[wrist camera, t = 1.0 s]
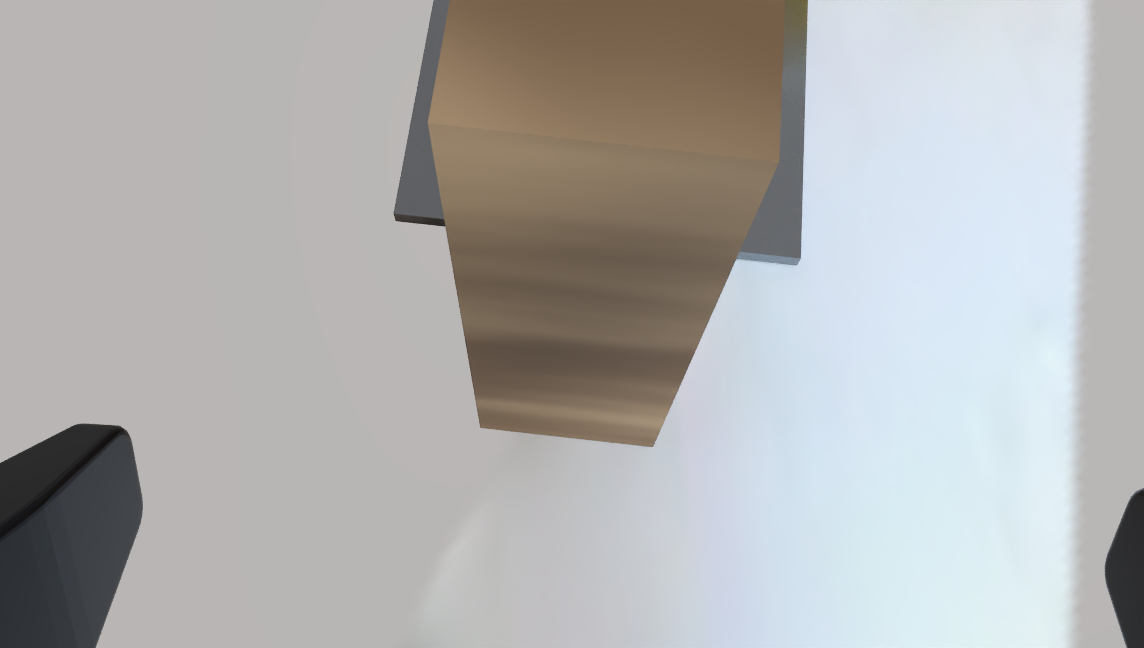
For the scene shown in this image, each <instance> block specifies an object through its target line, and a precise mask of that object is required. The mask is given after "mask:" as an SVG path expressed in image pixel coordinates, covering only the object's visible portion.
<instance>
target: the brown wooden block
mask: <svg viewBox="0 0 1144 648" xmlns="http://www.w3.org/2000/svg"><path fill="white" fill-rule="evenodd" d="M784 17H785V0H450V2H449V8H448V13H447V19H446V25H445V30H444V36H443V41H442V47H441V52H440V58H439V63H438V69H437V74H436V80H435V85H434V91H433V96H432V102H431V107H430V113H429V119H428V128H429V133H430V139H431V145H432V151H433V157H434V162H435V168H436V174H437V180H438V185H439V191H440V197H441V203H442V209H443V214H444V220H445V226H446V231H447V238H448V243H449V249H450V255H451V261H452V266H453V272H454V278H455V284H456V289H457V295H458V301H459V307H460V313H461V318H462V324H463V330H464V336H465V342H466V347H467V353H468V359H469V365H470V370H471V376H472V382H473V388H474V394H475V399H476V405H477V411H478V416H479V422H480V427H481V428H487V429H497V430H505V431H514V432H523V433H532V434H541V435H550V436H559V437H568V438H577V439H586V440H594V441H603V442H612V443H621V444H630V445H639V446H648V447H653V445H654V443H655V441H656V439H657V436H658V434H659V432H660V430H661V427H662V425H663V423H664V421H665V418H666V416H667V414H668V412H669V409H670V407H671V405H672V403H673V400H674V398H675V396H676V394H677V391H678V389H679V387H680V385H681V382H682V380H683V378H684V376H685V373H686V371H687V369H688V367H689V364H690V362H691V360H692V357H693V355H694V353H695V351H696V348H697V346H698V344H699V342H700V339H701V337H702V335H703V333H704V330H705V328H706V326H707V324H708V321H709V319H710V317H711V315H712V312H713V310H714V308H715V306H716V303H717V301H718V299H719V297H720V294H721V292H722V290H723V288H724V285H725V283H726V281H727V279H728V276H729V274H730V272H731V269H732V267H733V265H734V263H735V260H736V258H737V256H738V254H739V251H740V249H741V247H742V245H743V242H744V240H745V238H746V236H747V233H748V231H749V229H750V227H751V224H752V222H753V220H754V218H755V215H756V213H757V211H758V209H759V206H760V204H761V202H762V200H763V197H764V195H765V193H766V191H767V188H768V186H769V184H770V181H771V179H772V177H773V175H774V172H775V170H776V168H777V166H778V163H779V153H780V126H781V98H782V71H783V44H784Z"/></svg>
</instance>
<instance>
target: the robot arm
mask: <svg viewBox="0 0 1144 648" xmlns="http://www.w3.org/2000/svg"><path fill="white" fill-rule="evenodd" d="M142 510H143V502H142V494H141V489H140V483H139V478H138V473H137V467H136V462H135V457H134V451H133V446H132V442H131V438H130V436H129V434H128V432H127V431H126V430H125V429H124V428H122V427H120V426H114V425H99V424H77V425H74V426H72V427H70V428H68V429H66V430H64V431H62V432H60V433H58V434H56V435H54V436H52V437H50V438H48V439H46V440H44V441H43V442H41V443H38V444H37V445H35V446H33V447H31V448H29V449H27V450H25V451H23V452H21V453H19V454H17V455H15V456H13V457H11V458H9V459H7V460H5V461H4V462H1V463H0V648H96V645H97V642H98V640H99V636H100V634H101V631H102V629H103V626H104V623H105V620H106V617H107V615H108V612H109V609H110V606H111V604H112V601H113V598H114V595H115V593H116V590H117V587H118V584H119V582H120V579H121V576H122V573H123V571H124V568H125V565H126V562H127V560H128V557H129V554H130V551H131V549H132V546H133V543H134V540H135V538H136V535H137V532H138V529H139V526H140V523H141V518H142ZM1105 579H1106V584H1107V588H1108V591H1109V594H1110V597H1111V600H1112V604H1113V607H1114V610H1115V613H1116V616H1117V619H1118V622H1119V625H1120V628H1121V632H1122V634H1123V638H1124V641H1125V644H1126V647H1127V648H1144V488H1143V489H1140V490H1138V491H1137V492H1135V493H1134V494H1133V495H1132V496H1131V498H1130V500H1129V502H1128V504H1127V507H1126V509H1125V512H1124V514H1123V517H1122V519H1121V522H1120V524H1119V527H1118V529H1117V532H1116V534H1115V537H1114V539H1113V542H1112V544H1111V547H1110V549H1109V552H1108V554H1107V558H1106V563H1105Z"/></svg>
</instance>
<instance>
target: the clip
mask: <svg viewBox="0 0 1144 648" xmlns="http://www.w3.org/2000/svg"><path fill="white" fill-rule="evenodd" d="M449 2H450V0H434V2H433V7H432V12H431V18H430V23H429V29H428V34H427V39H426V44H425V50H424V55H423V60H422V66H421V71H420V76H419V82H418V87H417V92H416V98H415V103H414V108H413V114H412V120H411V124H410V130H409V135H408V140H407V146H406V151H405V156H404V162H403V167H402V172H401V177H400V183H399V189H398V194H397V199H396V204H395V210H394V216H395V220H396V221H401V222H409V223H418V224H428V225H437V226H445V220H444V214H443V209H442V203H441V197H440V191H439V185H438V180H437V174H436V168H435V162H434V157H433V151H432V145H431V139H430V133H429V128H428V119H429V113H430V107H431V102H432V96H433V91H434V85H435V80H436V74H437V69H438V63H439V58H440V52H441V47H442V41H443V36H444V30H445V25H446V19H447V13H448V8H449ZM807 7H808V0H785V17H784V44H783V71H782V98H781V126H780V153H779V163H778V166H777V168H776V170H775V172H774V175H773V177H772V179H771V181H770V184H769V186H768V188H767V191H766V193H765V195H764V197H763V200H762V202H761V204H760V206H759V209H758V211H757V213H756V215H755V218H754V220H753V222H752V224H751V227H750V229H749V231H748V233H747V236H746V238H745V240H744V242H743V245H742V247H741V249H740V251H739V254H738V256H737V258H736V259H745V260H754V261H763V262H772V263H781V264H790V265H797V264H798V262H799V261H800V259H801V229H802V192H803V155H804V118H805V81H806V44H807Z"/></svg>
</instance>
